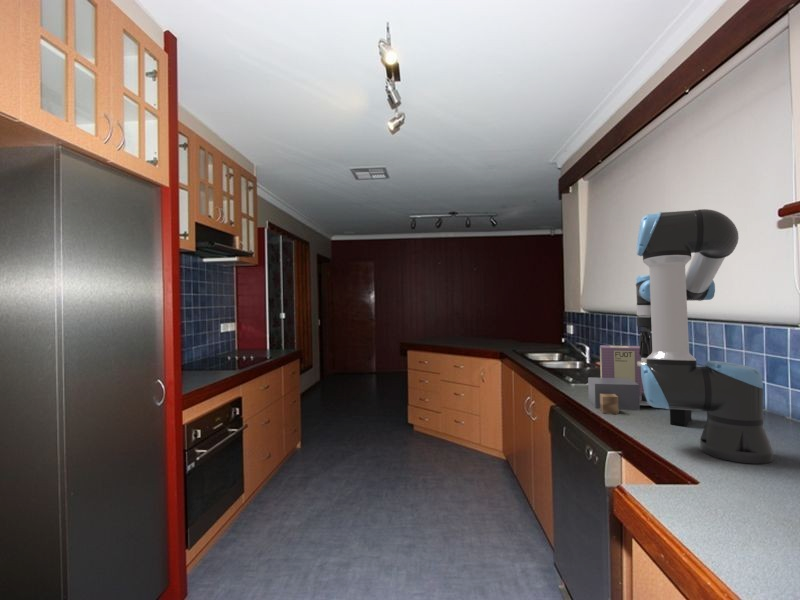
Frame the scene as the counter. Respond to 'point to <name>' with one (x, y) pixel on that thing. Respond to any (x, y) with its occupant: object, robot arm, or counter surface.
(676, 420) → the electronic device
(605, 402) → the wooden block
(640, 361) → the disc
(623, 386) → the housing
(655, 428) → the counter surface
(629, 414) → the counter surface
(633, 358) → the box
